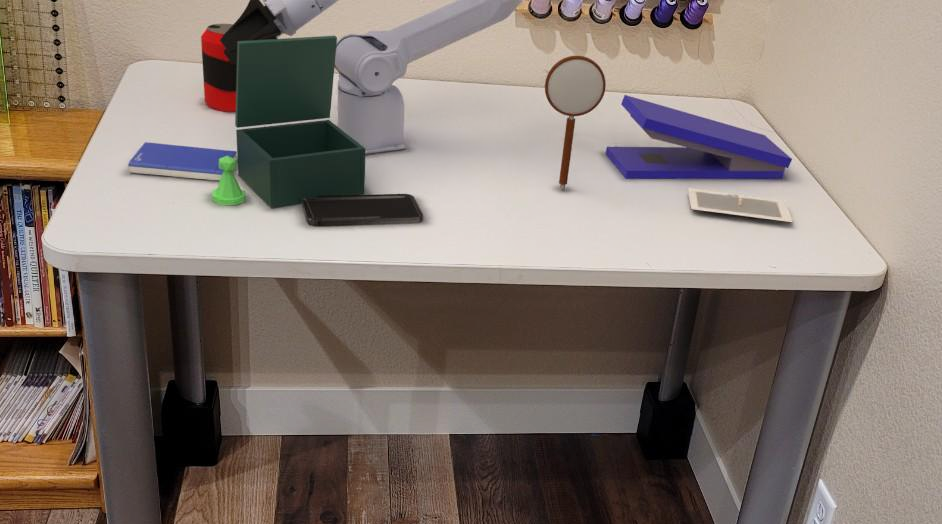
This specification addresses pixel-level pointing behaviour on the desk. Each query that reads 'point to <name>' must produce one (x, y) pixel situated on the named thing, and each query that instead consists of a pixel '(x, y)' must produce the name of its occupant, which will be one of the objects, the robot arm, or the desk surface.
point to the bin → (300, 162)
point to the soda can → (218, 70)
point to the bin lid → (284, 80)
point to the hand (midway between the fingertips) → (226, 52)
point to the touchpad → (739, 205)
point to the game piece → (228, 184)
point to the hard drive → (179, 161)
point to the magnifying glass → (573, 97)
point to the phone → (361, 210)
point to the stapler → (695, 148)
